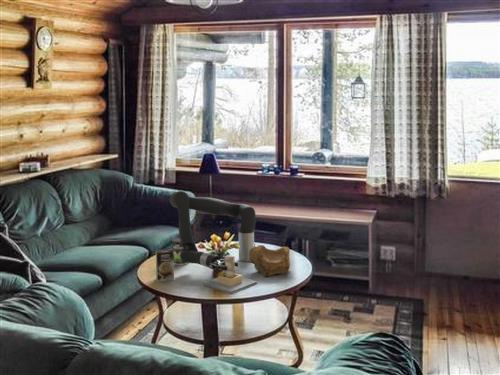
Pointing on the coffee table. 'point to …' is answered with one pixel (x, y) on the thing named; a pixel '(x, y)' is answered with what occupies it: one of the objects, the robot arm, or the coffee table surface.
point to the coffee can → (178, 251)
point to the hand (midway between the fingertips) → (232, 266)
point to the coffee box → (164, 265)
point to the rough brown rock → (270, 260)
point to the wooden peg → (230, 266)
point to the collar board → (230, 283)
